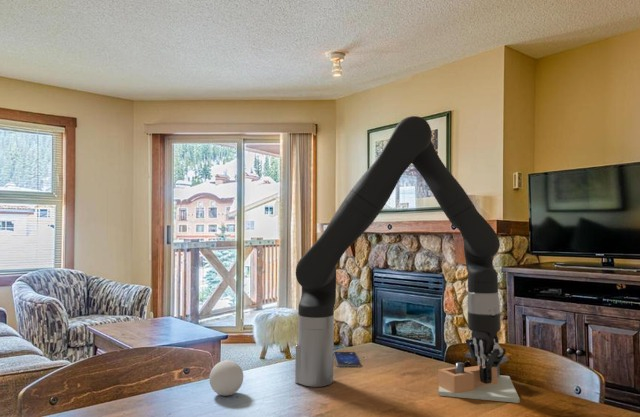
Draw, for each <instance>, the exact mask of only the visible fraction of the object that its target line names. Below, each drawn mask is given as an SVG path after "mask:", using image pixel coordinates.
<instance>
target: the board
mask: <svg viewBox="0 0 640 417" xmlns="http://www.w3.org/2000/svg"><path fill="white" fill-rule="evenodd" d="M438 396H440V397H441V396H442V397H452V398H464V399H473V400H483V401H493V402H495V401H496V402H505V403H515V404H520V397H519V394H518V392H517V390H516V387H515V386H514V383H513V381H512V379H511V376H509V375H500V376H498V377H497V383H496V384H491V385H485V386H479V387H474V390H471V391H466V392H460V393H452V392H450V391H448V390H446V389H444V388H442V387H440V386H438Z"/></svg>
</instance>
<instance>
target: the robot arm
mask: <svg viewBox="0 0 640 417" xmlns="http://www.w3.org/2000/svg"><path fill="white" fill-rule="evenodd" d="M432 134H433V133H432V128H431V126H430V123H429V122H428V121H427V120H425V119H424V118H423V117H422V116H417V115H416V116H415V115H411V116H408V117H407V116H406V117H405V118H403V119H401V120H400V121H399V122H398V123H397V124H396V126H395V127H394V130H393V132H392V133H391V136H390V137H389V139H388V141H387V143H386V144H385V146H384V148H383V150H382V151H381V152H380V154H379V155H378V157H377V158H376V160H375V161H374V162H373V163H372V164H371V165H370V166H369V168H367V169H366V171H365V172H364V173H363V175H362V176H361V177H360V178H359V180H358V181H357V182H356V183H355V184H354V185H353V187H352V188H351V189H350V191H349V192H348V193H347V195H346V197H345V198H344V200H343V201H342V202H341V204H340V205H339V207H338V208H337V210H336V212H335V213H334V215H333V216H332V217H331V219H330V221H329V223H328V225H327V226H326V228H325V229H324V231H323V233H321V235H320V236H319V237H318V239H317V240H316V241H315V242H314V244H312V246H311V247H310V248H309V249H308V250H307V252H305V253H304V254H303V256H302V257H301V258H300V259H299V261H298V262H297V265H296V267H295V277H296V278H295V279H296V281H297V283H298V284H299V285H300V286H301V287H302V289H301V297H300V300H299V302H298V310H297V311H298V313H297V314H298V316H297V317H298V321H297V322H298V323H297V329H298V330H297V332H298V333H297V334H298V335H297V337H298V338H297V341H298V342H297V344H296V345H295V364H294V365H295V374H294V375H295V376H294V379H295V380H294V381H295V384H300V385H303V386H306V387H312V388H313V387H314V388H316V387H317V388H318V387H319V388H320V387H325V386H329V385H331V384H333V383H334V355H333V353H334V343H335V342H334V341H335V340H334V337H335V336H334V328H335V327H334V325H335V324H334V323H335V322H334V319H335V318H334V315H335V314H334V313H335V305H336V300H337V299H336V295H337V294H336V293H337V264H338V263H339V261H341V260H340V259H341V258H342V256H343V255H344V254H345V252H346V251H347V250H348V249H349V247H351V245H353V244H354V243H355V242H356V241H357V240H358V239H359V238H360V237H361V236H362V235H363V234H364V233H365V232H366V231H367V230H368V228H369V227H370V226H371V225H372V223H374V221H375V220H376V219H377V217H378V216H379V214H380V213H381V211H382V210H383V209H384V207H385V206H386V204H387V203H388V201H389V199H390V198H391V196H392V194H393V193H394V190H395V189H396V186H397V185H398V182H399V180H400V179H401V177H402V175H403V174H404V173H405V172H406V170H407V169H408V168H409V167H410V166H411V165H413V167H414V168H415V169H416V171H417V172H418V174H420V176H421V177H422V179H423V180H424V182H425V183H426V185H427V187H428V188H429V189H430V192H431V193H432V194H433V197H434V198H435V200H436V202H437V203H438V205H439V207H440V208H441V210H442V212H443V213H444V215H445V216H446V218H447V219H448V221H449V222H450V223H451V225H452V226H454V227H455V228H456V229H458V231H459V232H460V233H461V235H462V236H463V239H464V240H463V253H464V260H465V265H466V269H467V300H466V301H467V303H466V304H467V328H468V330H470V331H471V334H470V335H471V336H470V338H466V339H465V345H466V346H467V349H468V351H469V352H470V353H471V356H472V358H473V359H472V358H471V359H472V360H473V362H475V363H477V366H479V368H480V381H481V382H482V383H485V384H488V383H491V382H492V367H497V366H498V365H499V363H500V361H501V360H502V358H503V356H506V355H505V354H506V353H507V352H506V349H505V348H504V347H501V346H500V344H499V337H498V333H499V331H501V330H502V329H501V308H500V307H501V305H500V304H501V302H500V301H501V300H500V297H499V280H498V273H497V270H496V269H495V268H494V264H493V257H494V256H496V254H497V253H498V252H499V249H500V248H501V246H500V244H501V243H500V239H499V237H498V234H497V233H496V231H495V229H493V227H492V225H491V224H490V223H489V222H488V221H487V220H486V219H485V217H484V216H482V214H480V213H479V211H478V210H477V209H476V208H477V207H476V206H475V204H474V203H473V201H472V199H471V198H470V197H469V195H468V193H467V192H466V191H465V189H464V188H463V187H462V185H461V184H460V183H459V181H458V180H457V179H456V178H455V176H454V175H453V174H452V173H451V172H450V170H449V169H448V168H447V167H446V165H445V164H444V163H443V161H442V159H441V158H440V156H439V154H438V152H437V150H436V148H435V146H434V143H433V142H432V136H433V135H432ZM476 356H477V357H476ZM500 364H501V363H500Z"/></svg>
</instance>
